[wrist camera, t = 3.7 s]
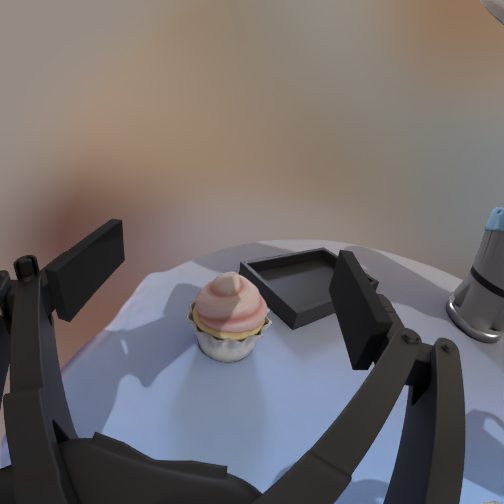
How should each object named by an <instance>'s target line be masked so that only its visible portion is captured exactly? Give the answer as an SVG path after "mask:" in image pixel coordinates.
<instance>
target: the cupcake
mask: <svg viewBox="0 0 504 504" xmlns="http://www.w3.org/2000/svg"><path fill="white" fill-rule="evenodd" d="M189 308H190V310H191V312H189V313H188V314H187V317H186V318H187V319H188V321H189V322H190V324H191V325H192V327H193V328H194V330H195V333H196V335H197V338H198V341H199V344H200V347H201V349H202V350H203V351H204V353H205V354H206V355H208V356H209V357H211V358H212V359H215V360H218V361H222V362H234V361H239V360H241V359H243V358H245V357H246V356H247V355H248V354H249V353H250V352H251V351H252V349H253V347H254V345H255V343H256V341H257V340H258V339H260V338H261V337H262V336H263V334H264V332H263V331H264V330H265V329H266V328H267V327H268V326H269V325H270V324H271V323H272V322H271V320H270V319H269V318H268V317H267V316H266V315H267V314H268V312H269V309H268V308H267V304H266V302H265V300H264V299H263V298H262V296H261V295H260V294H259V291H258V288H257V287H256V286H255V285H253V284H252V283H251V282H250V281H249V280H247V279H246V278H245V277H243V276H241V275H239V274H238V273H237V272H233V271H232V272H227V273H223V274H221V275H219V276H218V277H216V278H215V279H214V280H213V281H212V282H209V283H208V284H207V285H206V286H205V287H204V288H203V289H202V290H201V291H200V292H199V294H198V296H197V298H196V301H193V302H191V303H190V305H189Z"/></svg>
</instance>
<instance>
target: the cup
mask: <svg viewBox="0 0 504 504" xmlns="http://www.w3.org/2000/svg"><path fill="white" fill-rule="evenodd" d="M481 504H500V502H497V501H491V502H488V503H487V502H484V503H481Z"/></svg>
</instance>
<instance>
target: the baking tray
mask: <svg viewBox="0 0 504 504" xmlns="http://www.w3.org/2000/svg"><path fill="white" fill-rule="evenodd" d="M337 259H338V256H337V255H335V254H333V253H332V252H330V251H329V250H327V249H325V248H318V249H313V250H307V251H302V252H296V253H291V254H285V255H279V256H274V257H268V258H262V259H257V260H251V261H245V262H241V263H240V271H239V275H241V276H243V277H245V278H246V279H247V280H249V281H250V282H251V283H252V284H253V285H255V286H256V287H257V288H258V291H259V294H260V295H261V296H262V298H263V299H264V300H265V302H266V304H267V305H268V306H269V307H270V308H271V309H272V310H273V311H274V312H275V313H276V314H277V315H278V316H279V317H280V318H281V319H282V320H283V321H284V322H285V323H286V324H287V325H289V326H290V327H291V328H292V329H296V328H299V327H301V326H304V325H306V324H309V323H311V322H314V321H316V320H319V319H321V318H324V317H326V316H328V315H331V314H333V313H335V309H334V306H333V303H332V299H331V296H330V293H329V290H328V289H329V286H330V283H331V279H332V276H333V273H334V269H335V266H336V262H337ZM365 274H366V273H365ZM366 276H367V277H368V279H369V281H370V283H371V284H372V286H373V288H374V289H375V291H376V289H377V286H378V284H379V282H378V281H377V280H375V279H374V278H372V277H370V276H369V275H367V274H366Z"/></svg>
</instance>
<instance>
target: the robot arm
mask: <svg viewBox="0 0 504 504" xmlns="http://www.w3.org/2000/svg"><path fill="white" fill-rule="evenodd" d="M479 1H480V2H481V3H482V4H483V5H484V6H485V7H486V9H487V10H488V11H489V12H490V13H491V14H492V15H493V16H494V17H495V18H496V19H498V20H499V21H500V22H501V23H502V24H503V25H504V0H479ZM485 229H486V230H485V233H484V236H483V239H482V242H481V245H480V248H479V250H478V253H477V256H476V258H475V261H474V263H473V266H472V268H471V271H470V273H469V275H468V276H467V277H466V278H465V280H464V281H463V282H462V283H461V284H460V285H459V286H458V288H457V289H456V290H455V291H454V292H453V291H452V294H451V296H450V298H449V300H448V302H447V304H446V309H447V312H448V314H449V316H450V317H451V319H452V320H453V321H454V323H455V324H456V325H457V326H458V327H459V328H460V329H462V330H463V331H464V332H465V333H467V334H468V335H470V336H471V337H473V338H475V339H477V340H480V341H482V342H486V343H494V342H497V341H498V340H499V339H500V338H501V336H502V334H503V333H504V208H500V207H497V208H495V209H494V210H493V211H492V213H491V215H490V218H489V221H488V223H487V226H486V227H485ZM124 260H125V257H124V245H123V228H122V220H117V219H111V220H109V221H108V222H107V223H105V224H104V225H102V226H101V227H99V228H98V229H97V230H95V231H94V232H92V233H91V234H90V235H88V236H87V237H85V238H84V239H83V240H82V241H80V242H79V243H77V244H76V245H75V246H73V247H72V248H71V249H69V250H68V251H66V252H64V253H62V254H61V255H59V256H58V257H57V258H56V259H54V260H53V261H52V262H50V263H49V264H48V265H47V266H46V267H44V268H43V269H42V270H41V271H39V267H38V263H37V259H36V257H35V256H34V255H26V256H23V257H20V258H18V259H17V260H16V261H15V262H14V269H15V272H16V276H17V279H18V280H11V279H10V276H9V273H8V271H5V270H2V271H0V314H1V315H0V408H1V402H2V396H3V391H4V385H5V380H6V376H7V371H8V367H9V363H10V393H8V394H5V395H4V397H3V408H4V419H5V428H6V436H7V442H8V448H9V454H10V459H11V464H12V465H9V466H7V467H4V468H1V469H0V504H334V502H335V501H336V500H337V499H338V497H339V496H340V495H341V494H342V492H343V491H344V490H345V489H346V487H347V486H348V484H349V483H350V481H351V479H352V477H351V475H352V473H353V472H354V470H355V469H356V467H357V466H358V465H359V463H360V462H361V460H362V459H363V457H364V456H365V454H366V453H367V451H368V450H369V448H370V446H371V445H372V443H373V442H374V440H375V438H376V437H377V435H378V433H379V432H380V430H381V428H382V427H383V425H384V423H385V421H386V420H387V418H388V416H389V414H390V412H391V410H392V408H393V407H394V405H395V403H396V401H397V399H398V397H399V395H400V393H401V391H402V388H403V386H404V385H409V391H408V399H407V406H406V413H405V419H404V425H403V430H402V436H401V441H400V445H399V450H398V454H397V458H396V462H395V466H394V470H393V474H392V477H391V481H390V484H389V488H388V491H387V494H386V497H385V500H384V503H383V504H459V501H460V495H461V488H462V480H463V471H464V458H465V402H464V388H463V378H462V369H461V362H460V355H459V350H458V347H457V346H456V345H455V343H454V342H452V341H451V340H449V339H446V338H439V339H438V340H437V341H436V342H435V344H434V346H433V345H429V344H425V343H422V340H421V338H420V336H419V335H418V334H417V333H416V332H414V331H413V330H411V329H408V328H405V327H404V325H403V323H402V322H401V320H400V318H399V316H398V315H397V313H396V311H395V310H394V308H393V306H392V304H391V303H390V301H389V300H388V299H387V298H386V297H385V296H383V295H381V294H377V293H376V291H375V289H374V288H373V286H372V284H371V283H370V281H369V279H368V277H367V276H366V274H365V272H364V271H363V269H362V267H361V266H360V264H359V262H358V261H357V259H356V258H355V256H354V254H353V253H352V252H350V251H344V250H340V252H339V255H338V259H337V262H336V266H335V269H334V273H333V276H332V279H331V283H330V286H329V289H328V290H329V293H330V296H331V299H332V303H333V306H334V309H335V312H336V315H337V318H338V321H339V325H340V328H341V331H342V334H343V338H344V341H345V344H346V348H347V351H348V355H349V358H350V362H351V365H352V369H353V370H368V369H369V367H370V365H371V364H372V362H373V361H374V364H375V366H374V368H373V369H372V371H371V372H370V374H369V375H368V377H367V378H366V380H365V381H364V383H363V384H362V385H361V387H360V388H359V390H358V391H357V392H356V394H355V395H354V397H353V398H352V399H351V401H350V402H349V403H348V405H347V406H346V407H345V408H344V410H343V411H342V412H341V414H340V415H339V416H338V417H337V419H336V420H335V421H334V422H333V424H332V425H331V426H330V427H329V428H328V430H327V431H326V432H325V433H324V434H323V435H322V437H321V438H320V439H319V440H318V441H317V442H316V443H315V444H314V446H313V447H312V448H311V449H310V450H309V451H307V452H306V453H305V454H304V455H303V456H302V457H301V458H300V459H299V460H298V461H297V462H296V463H295V464H294V465H293V466H292V467H291V468H290V469H289V470H288V471H287V472H286V473H285V474H284V475H283V476H282V477H281V478H280V479H279V480H278V481H277V482H276V483H275V484H274V485H272V486H271V487H270V488H269V489H268V490H267V491H266V492H265V493H263V494H262V493H261V492H260V491H258V490H257V489H256V488H255V487H254V486H252V485H251V484H250V483H248V482H246V481H244V480H243V479H241V478H239V477H236V476H234V475H231V474H229V473H227V466H222V465H215V464H209V463H203V462H197V461H168V460H155V459H152V458H150V457H148V456H146V455H145V454H143V453H141V452H139V451H138V450H136V449H134V448H132V447H131V446H129V445H127V444H126V443H124V442H121V441H118V440H116V439H113V438H110V437H108V436H105V435H102V434H100V433H97V432H95V434H94V436H93V438H78V436H77V434H76V432H75V429H74V426H73V423H72V419H71V416H70V412H69V408H68V405H67V401H66V396H65V392H64V387H63V383H62V378H61V373H60V367H59V361H58V355H57V348H56V340H55V331H54V321H53V316H52V312H53V311H54V310H55V309H56V312H57V315H58V318H59V319H62V320H65V321H68V322H70V321H71V320H72V319H73V318H74V316H75V315H76V314H77V313H78V312H79V310H80V309H81V308H82V307H83V306H84V305H85V303H86V302H87V301H88V300H89V299H90V298H91V297H92V295H93V294H94V293H95V292H96V291H97V289H98V288H99V287H100V286H101V285H102V284H103V283H104V282H105V281H106V280H107V279H108V278H109V276H110V275H111V274H112V273H113V272H114V271H115V270H116V269H117V268H118V267H119V266H120V264H121V263H123V261H124Z"/></svg>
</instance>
